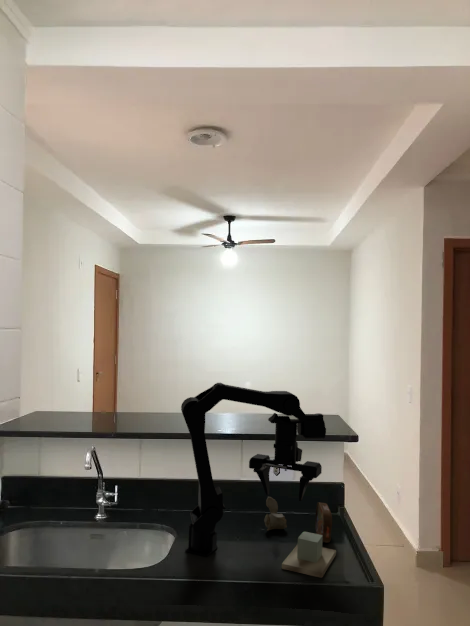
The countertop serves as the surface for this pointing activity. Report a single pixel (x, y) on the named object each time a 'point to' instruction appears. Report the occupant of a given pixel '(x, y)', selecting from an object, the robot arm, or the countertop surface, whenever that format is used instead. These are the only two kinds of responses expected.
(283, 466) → the robot arm
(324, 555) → the maple board
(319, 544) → the sage cube
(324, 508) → the tin
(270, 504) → the beige lumpy figure
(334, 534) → the countertop surface
